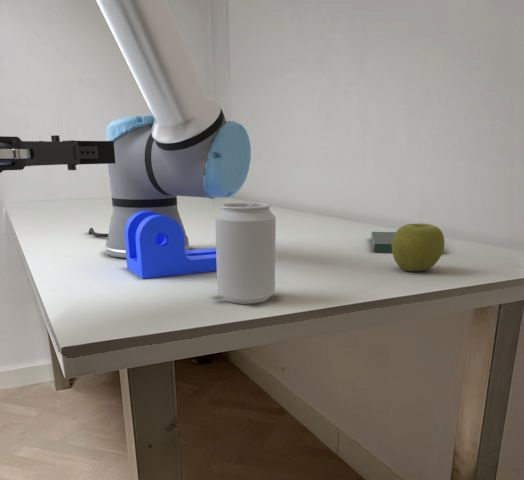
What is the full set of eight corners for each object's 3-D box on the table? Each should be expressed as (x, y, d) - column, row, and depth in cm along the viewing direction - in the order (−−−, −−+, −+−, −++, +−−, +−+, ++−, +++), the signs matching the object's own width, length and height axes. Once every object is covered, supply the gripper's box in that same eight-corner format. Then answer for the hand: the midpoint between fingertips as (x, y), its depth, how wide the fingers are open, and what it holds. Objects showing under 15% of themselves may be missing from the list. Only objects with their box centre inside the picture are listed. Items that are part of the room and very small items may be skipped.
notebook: (373, 252, 104) (374, 243, 103) (371, 239, 119) (371, 231, 118) (439, 254, 102) (440, 245, 102) (428, 240, 117) (429, 232, 116)
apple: (445, 275, 85) (450, 228, 82) (391, 274, 86) (395, 227, 83) (436, 266, 92) (441, 222, 89) (387, 264, 93) (391, 221, 90)
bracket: (142, 278, 83) (137, 217, 80) (127, 268, 90) (122, 211, 87) (249, 267, 91) (248, 211, 88) (227, 258, 98) (226, 206, 95)
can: (218, 291, 76) (215, 200, 71) (272, 290, 76) (273, 200, 72) (216, 305, 69) (213, 206, 64) (276, 305, 69) (278, 206, 65)
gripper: (-105, 191, 59) (82, 180, 76) (-45, 197, 51) (147, 184, 69) (-122, 114, 56) (76, 122, 74) (-61, 109, 49) (142, 119, 66)
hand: (110, 152), depth 71 cm, fingers closed
